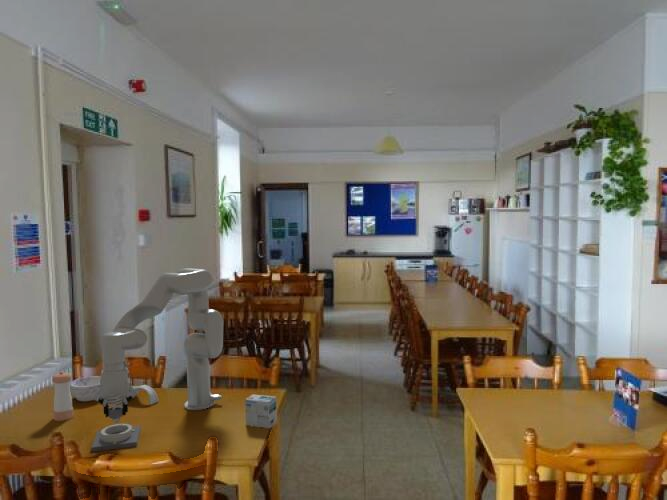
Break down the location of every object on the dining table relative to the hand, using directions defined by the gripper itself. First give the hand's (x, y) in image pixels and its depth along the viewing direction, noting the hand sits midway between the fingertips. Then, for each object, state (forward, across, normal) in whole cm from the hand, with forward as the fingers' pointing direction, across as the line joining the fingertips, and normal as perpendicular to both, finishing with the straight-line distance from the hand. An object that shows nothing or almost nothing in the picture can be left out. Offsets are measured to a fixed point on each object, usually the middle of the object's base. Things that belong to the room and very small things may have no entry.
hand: (116, 414), depth 191 cm
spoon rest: (+10, -3, -44) cm, 45 cm away
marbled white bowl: (+10, +18, -52) cm, 56 cm away
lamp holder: (+10, 0, 0) cm, 10 cm away
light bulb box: (+10, -53, +1) cm, 54 cm away
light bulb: (+3, 0, 0) cm, 3 cm away
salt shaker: (+10, +24, -30) cm, 40 cm away
